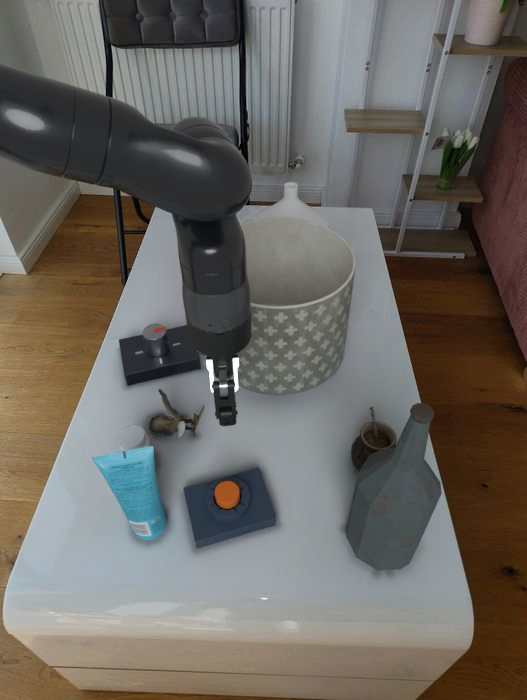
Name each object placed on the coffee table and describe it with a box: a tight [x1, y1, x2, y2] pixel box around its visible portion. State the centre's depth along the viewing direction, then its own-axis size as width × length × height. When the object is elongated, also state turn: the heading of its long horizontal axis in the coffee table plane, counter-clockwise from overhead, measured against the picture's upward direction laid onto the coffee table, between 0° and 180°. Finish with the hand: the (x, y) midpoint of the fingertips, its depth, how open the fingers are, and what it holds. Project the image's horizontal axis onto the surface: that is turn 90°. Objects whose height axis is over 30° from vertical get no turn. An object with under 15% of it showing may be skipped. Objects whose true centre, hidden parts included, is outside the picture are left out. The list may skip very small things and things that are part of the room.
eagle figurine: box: [148, 388, 206, 439], centre depth 88 cm, size 8×7×9 cm
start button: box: [215, 481, 240, 509], centre depth 76 cm, size 4×4×2 cm
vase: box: [252, 181, 331, 229], centre depth 118 cm, size 18×18×19 cm
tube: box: [91, 445, 167, 541], centre depth 70 cm, size 7×5×19 cm, turn 107°
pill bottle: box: [118, 424, 156, 463], centre depth 82 cm, size 5×5×8 cm
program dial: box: [141, 323, 169, 356], centre depth 98 cm, size 4×4×5 cm
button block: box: [182, 467, 277, 549], centre depth 77 cm, size 12×9×4 cm
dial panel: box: [118, 324, 201, 386], centre depth 100 cm, size 14×10×3 cm
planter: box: [227, 217, 357, 396], centre depth 93 cm, size 25×25×24 cm
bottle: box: [345, 402, 443, 571], centre depth 65 cm, size 10×10×30 cm
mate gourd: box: [350, 406, 398, 472], centre depth 81 cm, size 7×8×10 cm
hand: (226, 398), depth 70 cm, fingers open, 8 cm apart
